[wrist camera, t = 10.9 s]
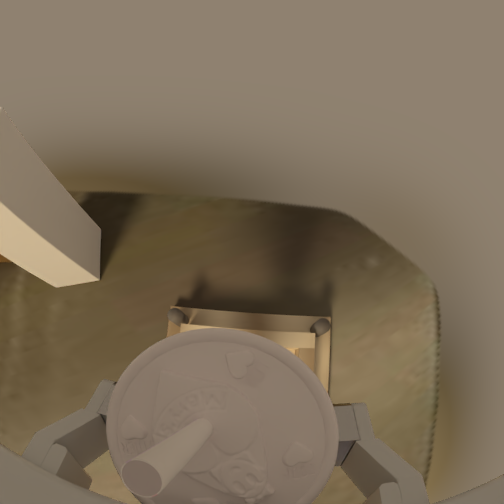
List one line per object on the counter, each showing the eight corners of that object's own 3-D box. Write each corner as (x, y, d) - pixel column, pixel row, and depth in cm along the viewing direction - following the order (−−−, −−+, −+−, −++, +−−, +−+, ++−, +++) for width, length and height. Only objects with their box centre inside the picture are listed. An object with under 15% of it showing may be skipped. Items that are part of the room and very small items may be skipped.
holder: (160, 454, 21) (147, 464, 18) (173, 308, 27) (162, 299, 23) (318, 467, 21) (326, 479, 17) (327, 318, 26) (337, 311, 23)
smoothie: (251, 331, 17) (233, 178, 4) (318, 417, 15) (486, 499, 2) (162, 391, 16) (-48, 386, 3) (226, 477, 13) (158, 652, 1)
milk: (56, 288, 27) (-99, 180, 7) (60, 238, 30) (-65, 113, 9) (101, 280, 28) (-61, 142, 7) (102, 228, 30) (-18, 74, 10)
